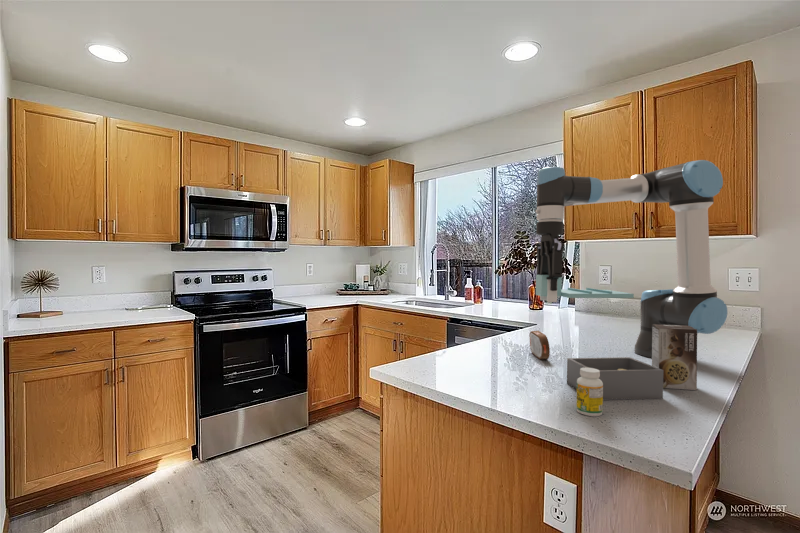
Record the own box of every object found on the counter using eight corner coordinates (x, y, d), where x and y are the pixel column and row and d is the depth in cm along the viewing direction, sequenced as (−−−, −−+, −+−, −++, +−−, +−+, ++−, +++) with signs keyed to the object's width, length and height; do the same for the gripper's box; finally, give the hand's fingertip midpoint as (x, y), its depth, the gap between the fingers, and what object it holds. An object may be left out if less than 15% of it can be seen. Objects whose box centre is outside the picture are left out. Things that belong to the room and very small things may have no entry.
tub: (629, 382, 116) (630, 357, 116) (662, 398, 103) (663, 370, 103) (566, 383, 115) (567, 358, 115) (592, 400, 102) (593, 371, 102)
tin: (550, 362, 138) (550, 336, 138) (540, 362, 138) (541, 336, 138) (536, 351, 153) (536, 328, 153) (527, 351, 153) (528, 328, 153)
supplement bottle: (607, 417, 91) (607, 373, 91) (582, 417, 91) (583, 373, 91) (595, 408, 97) (596, 366, 96) (572, 407, 97) (573, 366, 96)
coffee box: (687, 383, 116) (689, 325, 115) (697, 391, 109) (698, 329, 109) (650, 380, 118) (651, 323, 118) (657, 387, 112) (659, 327, 111)
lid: (605, 293, 133) (606, 274, 133) (633, 298, 119) (634, 276, 119) (529, 293, 131) (529, 274, 131) (548, 298, 117) (549, 276, 117)
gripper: (526, 223, 132) (524, 298, 132) (550, 218, 115) (548, 304, 115) (549, 223, 132) (548, 298, 133) (576, 219, 115) (575, 304, 116)
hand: (548, 300), depth 124 cm, fingers closed on lid, 4 cm apart
